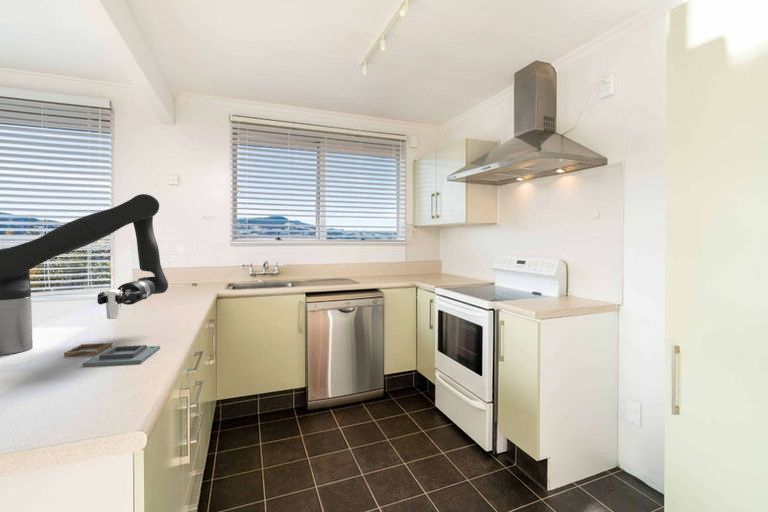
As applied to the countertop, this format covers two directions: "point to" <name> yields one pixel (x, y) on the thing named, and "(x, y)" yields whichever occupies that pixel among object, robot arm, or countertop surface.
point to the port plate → (122, 355)
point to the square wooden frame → (77, 351)
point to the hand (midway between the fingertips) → (109, 300)
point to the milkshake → (112, 303)
